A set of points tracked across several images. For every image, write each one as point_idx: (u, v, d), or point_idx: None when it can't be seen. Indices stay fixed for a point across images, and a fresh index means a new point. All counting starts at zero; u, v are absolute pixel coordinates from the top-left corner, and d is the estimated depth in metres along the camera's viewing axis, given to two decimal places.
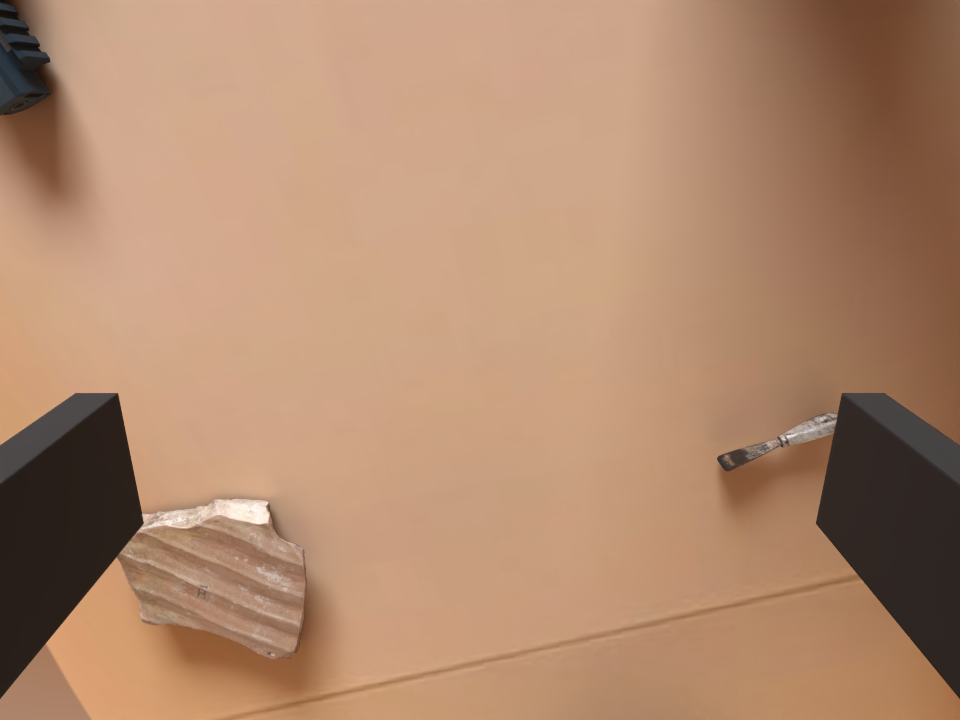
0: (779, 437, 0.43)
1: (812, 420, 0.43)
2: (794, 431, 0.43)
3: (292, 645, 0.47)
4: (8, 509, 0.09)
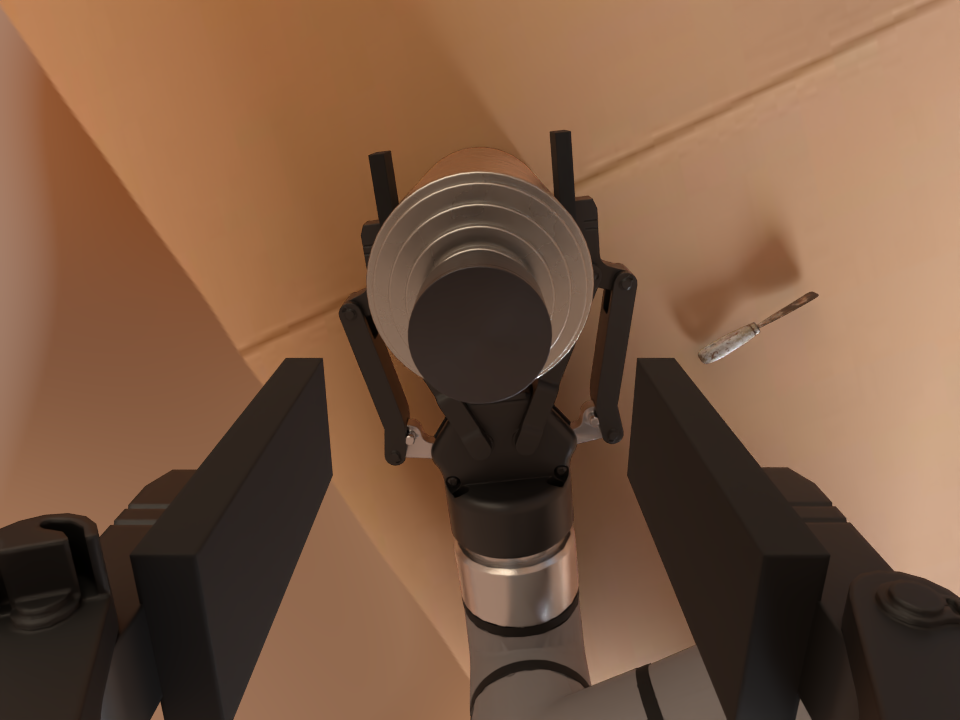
0: None
1: None
2: None
3: None
4: (283, 447, 0.11)
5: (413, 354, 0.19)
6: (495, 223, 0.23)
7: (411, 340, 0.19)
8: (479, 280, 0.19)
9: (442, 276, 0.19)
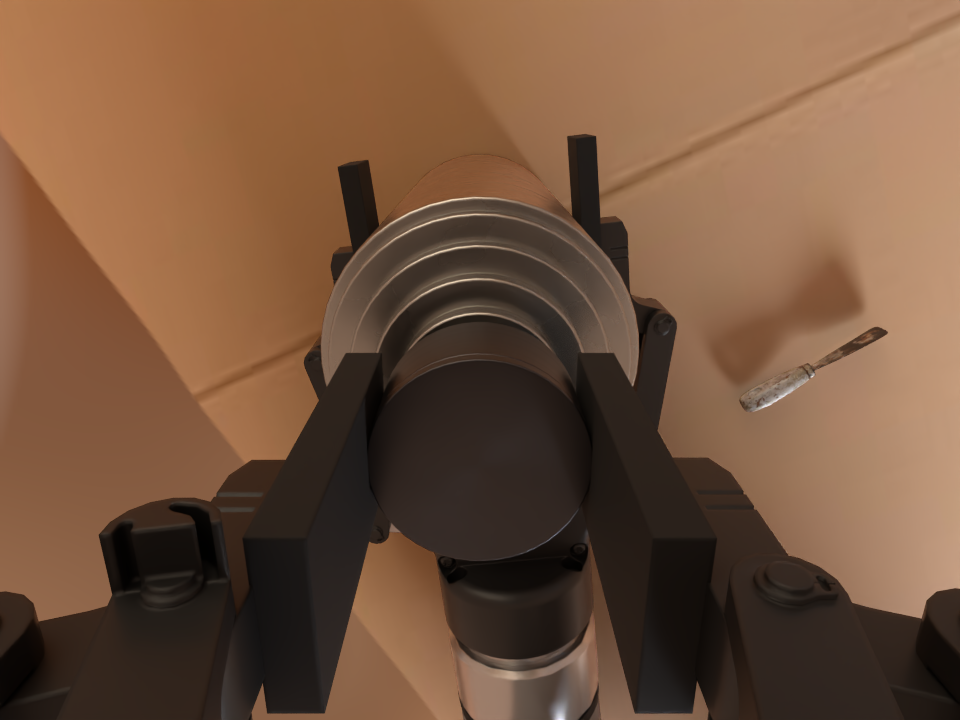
0: None
1: None
2: None
3: None
4: (358, 438, 0.11)
5: (376, 490, 0.12)
6: (502, 273, 0.16)
7: (372, 470, 0.12)
8: (479, 381, 0.12)
9: (419, 374, 0.12)
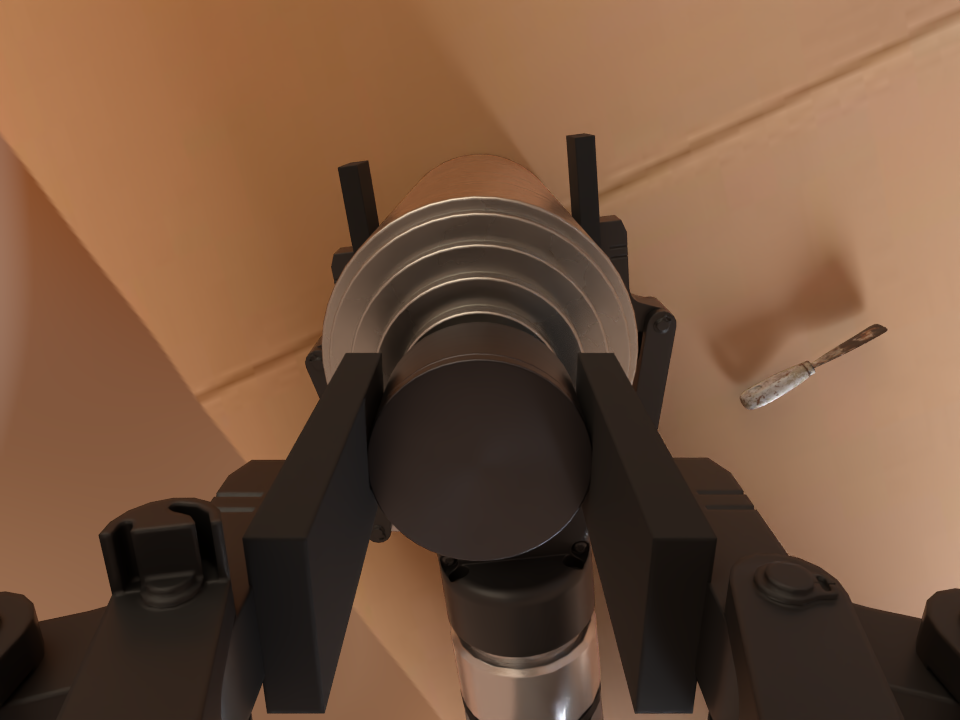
0: None
1: None
2: None
3: None
4: (358, 437, 0.11)
5: (532, 545, 0.13)
6: (501, 272, 0.16)
7: (512, 552, 0.13)
8: (392, 489, 0.12)
9: (405, 533, 0.13)
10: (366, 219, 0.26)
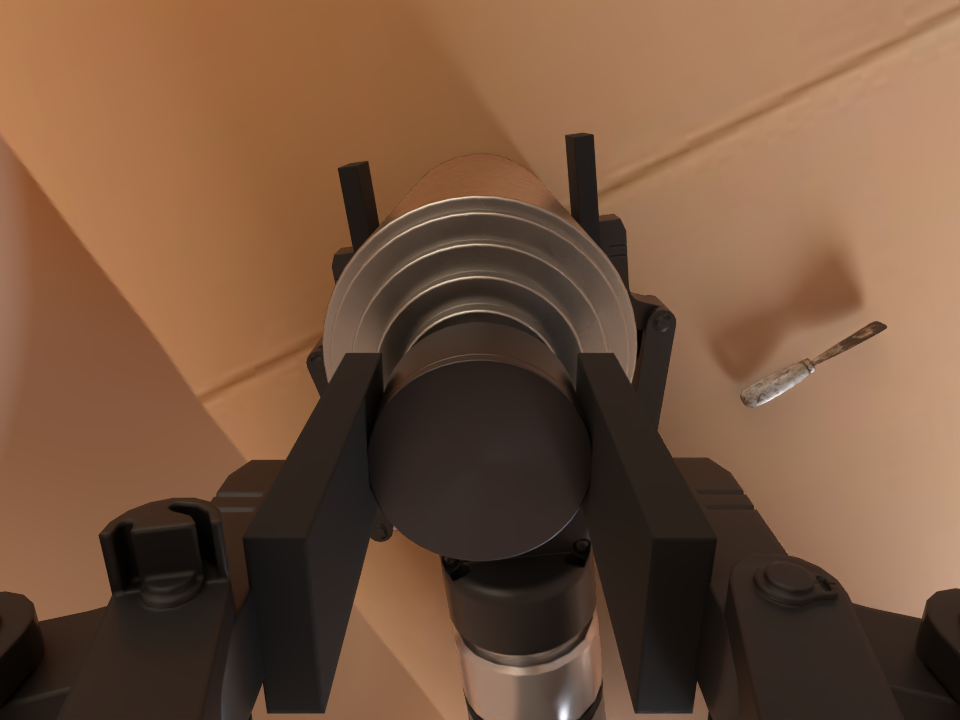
0: None
1: None
2: None
3: None
4: (358, 438, 0.11)
5: (557, 393, 0.12)
6: (500, 270, 0.16)
7: (571, 410, 0.12)
8: (527, 532, 0.13)
9: (577, 509, 0.13)
10: (366, 219, 0.27)
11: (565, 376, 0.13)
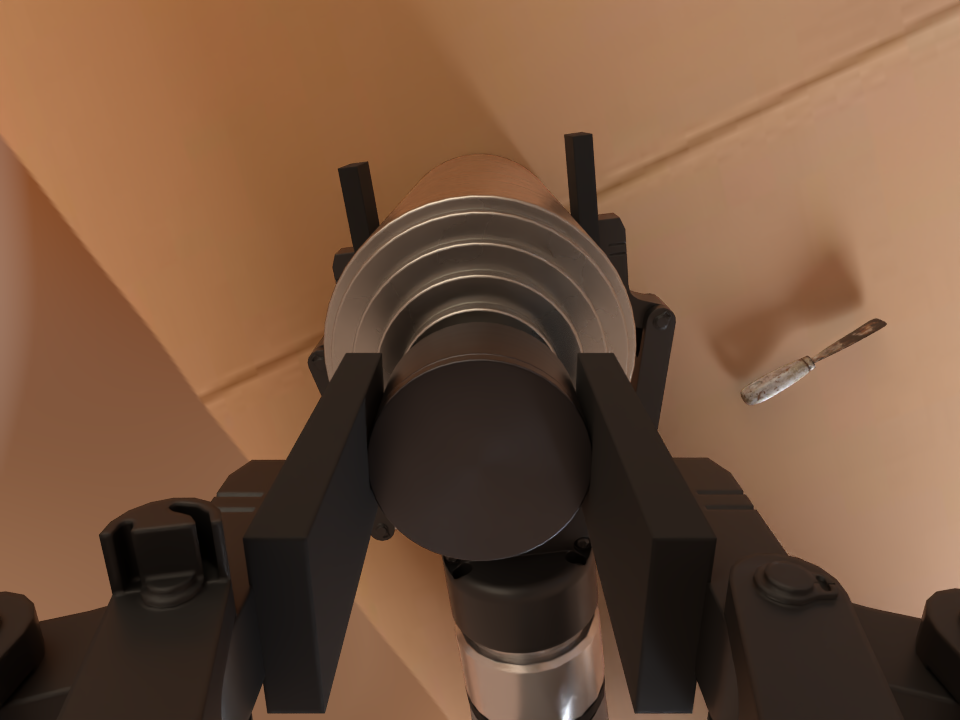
0: None
1: None
2: None
3: None
4: (358, 438, 0.11)
5: (381, 420, 0.12)
6: (499, 269, 0.16)
7: (393, 402, 0.12)
8: (543, 403, 0.12)
9: (503, 361, 0.12)
10: (366, 219, 0.27)
11: (395, 374, 0.13)
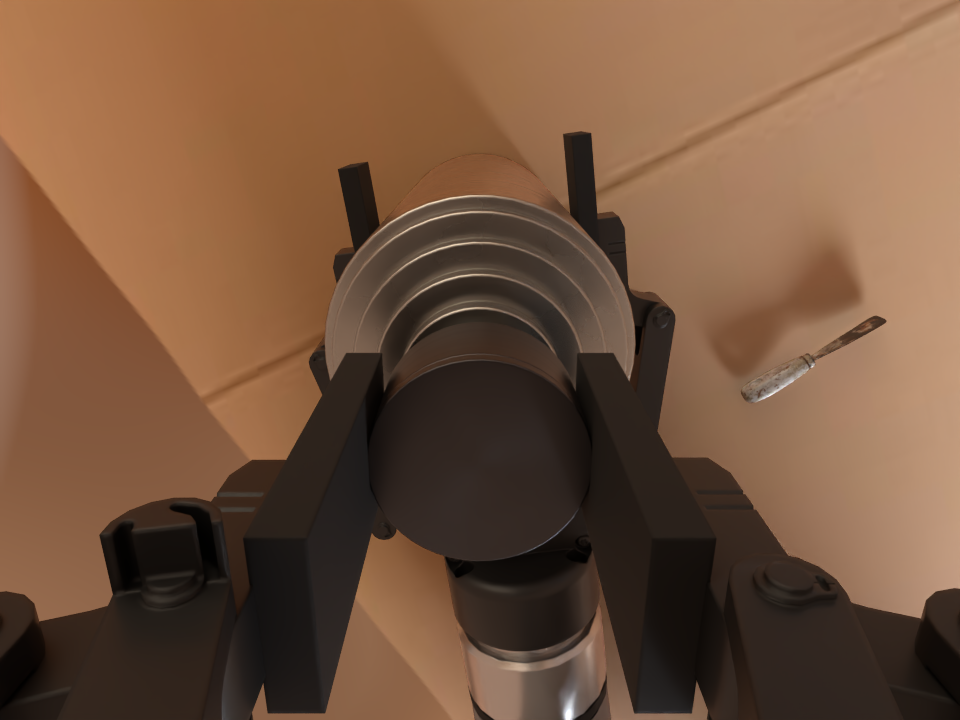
0: None
1: None
2: None
3: None
4: (358, 437, 0.11)
5: (459, 555, 0.13)
6: (499, 268, 0.16)
7: (438, 549, 0.13)
8: (394, 431, 0.12)
9: None
10: (367, 220, 0.27)
11: None
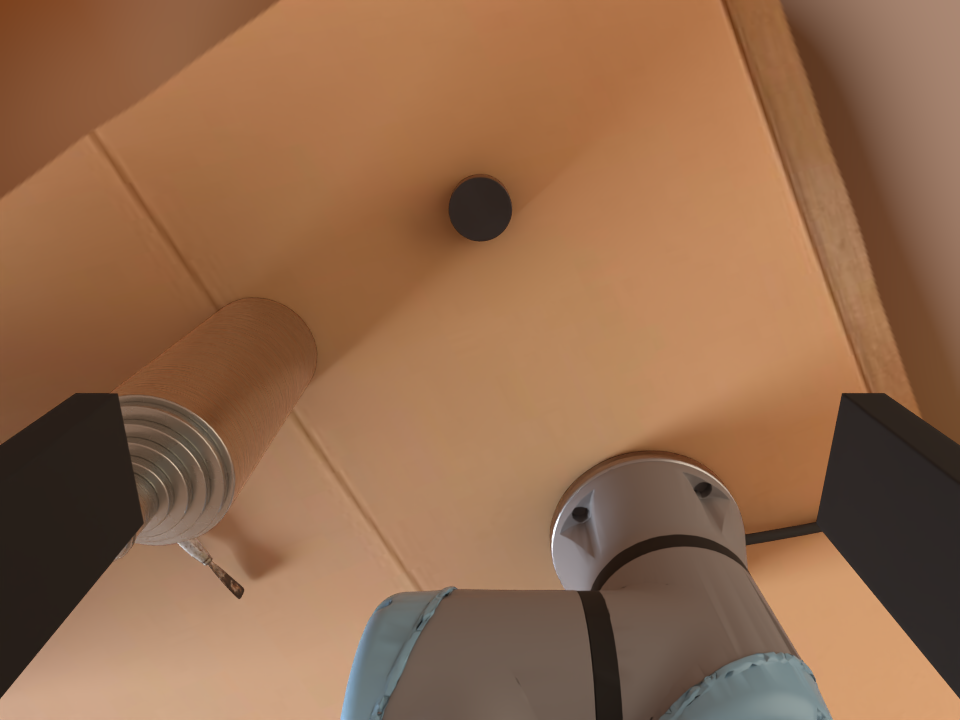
0: None
1: None
2: None
3: None
4: (8, 509, 0.09)
5: (474, 239, 0.45)
6: (193, 493, 0.32)
7: (468, 237, 0.45)
8: (457, 198, 0.44)
9: (449, 212, 0.44)
10: None
11: None
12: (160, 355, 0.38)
